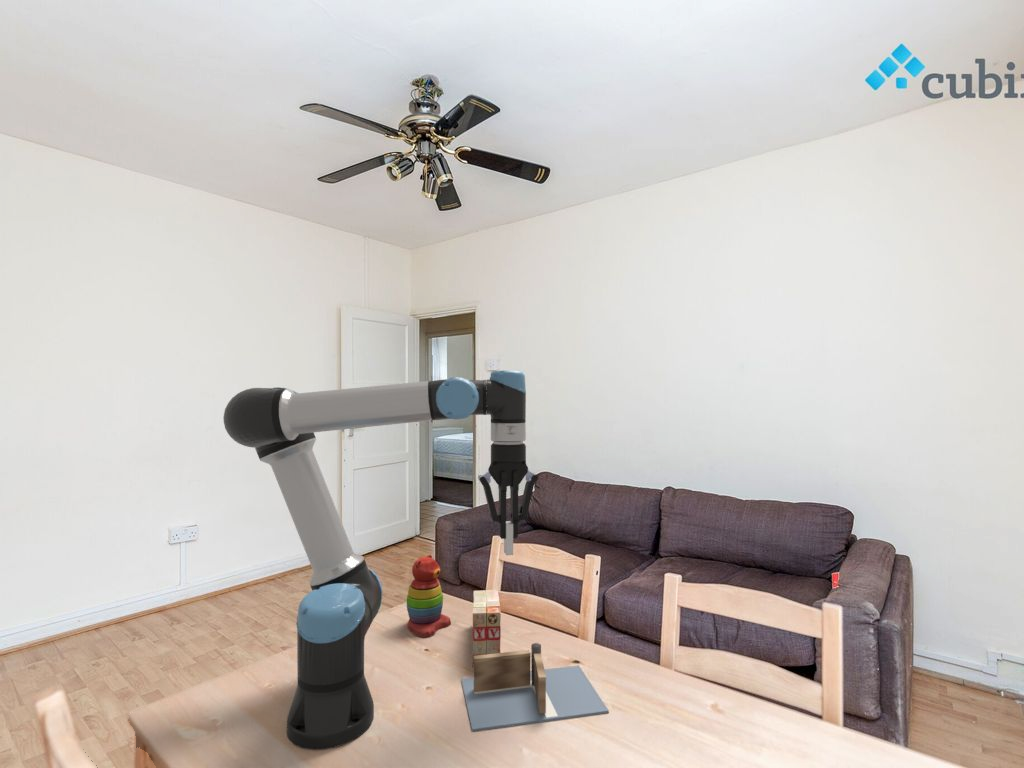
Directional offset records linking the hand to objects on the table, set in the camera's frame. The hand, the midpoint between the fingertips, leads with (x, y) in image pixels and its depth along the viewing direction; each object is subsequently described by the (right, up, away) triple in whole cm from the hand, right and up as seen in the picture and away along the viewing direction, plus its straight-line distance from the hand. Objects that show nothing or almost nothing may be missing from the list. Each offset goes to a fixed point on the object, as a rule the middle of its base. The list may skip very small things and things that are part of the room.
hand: (508, 553), depth 113 cm
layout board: (+5, -26, -7) cm, 28 cm away
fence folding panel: (+6, -25, -10) cm, 28 cm away
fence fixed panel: (0, -26, -5) cm, 26 cm away
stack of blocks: (-5, -27, +15) cm, 31 cm away
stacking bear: (-22, -27, +25) cm, 42 cm away
